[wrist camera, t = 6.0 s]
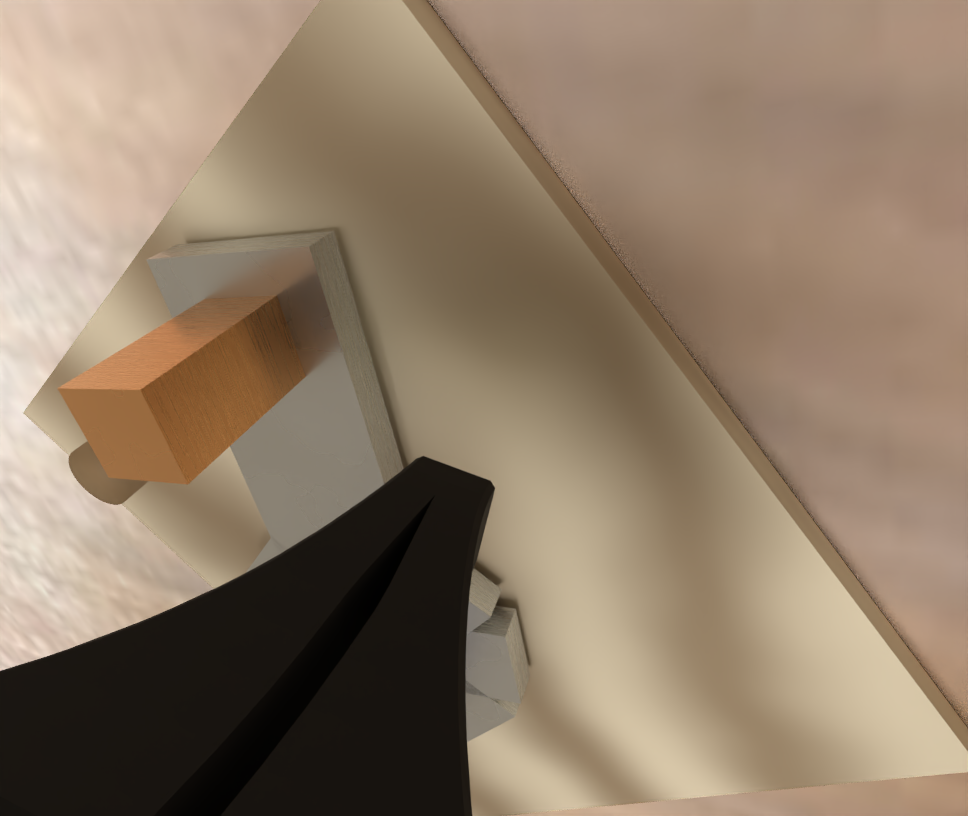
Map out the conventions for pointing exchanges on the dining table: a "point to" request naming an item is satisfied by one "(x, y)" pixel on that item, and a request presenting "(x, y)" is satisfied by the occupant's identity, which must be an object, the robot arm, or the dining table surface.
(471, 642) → the crank
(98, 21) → the dining table surface
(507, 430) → the board
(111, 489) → the dowel
